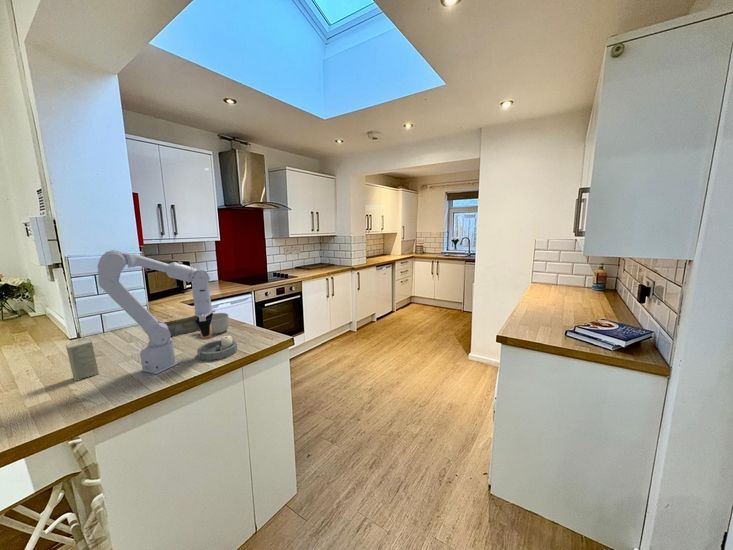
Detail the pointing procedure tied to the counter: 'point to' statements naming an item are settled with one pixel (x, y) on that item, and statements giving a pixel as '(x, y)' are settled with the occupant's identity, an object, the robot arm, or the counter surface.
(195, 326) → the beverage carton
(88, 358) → the skincare box
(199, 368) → the counter surface
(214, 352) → the groove tray
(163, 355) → the robot arm
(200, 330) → the bead terracotta
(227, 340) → the bead cream
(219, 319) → the teacup
